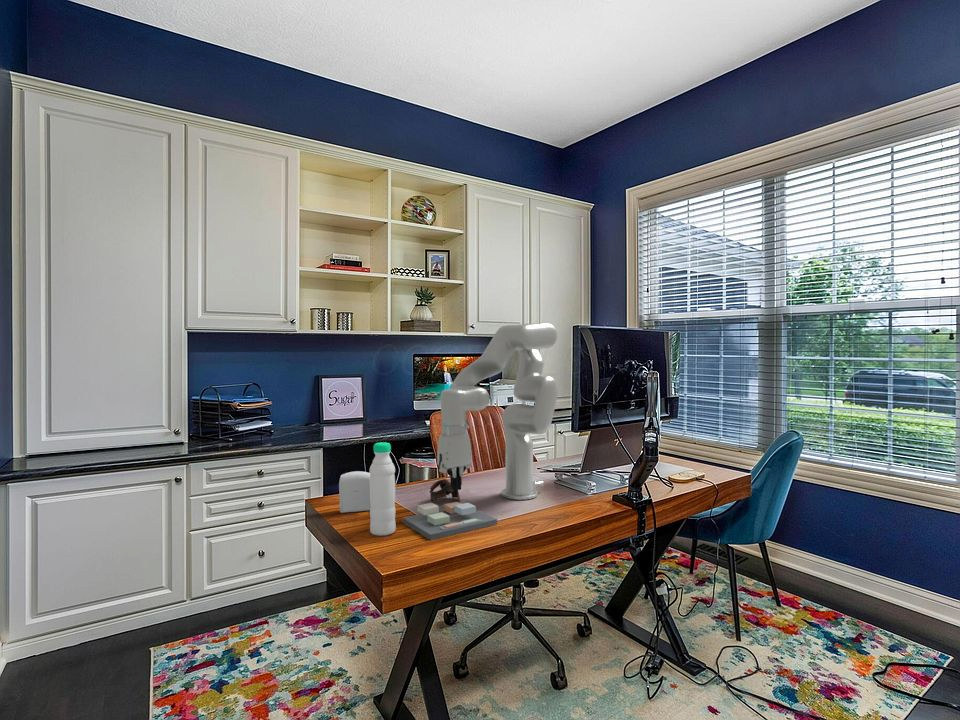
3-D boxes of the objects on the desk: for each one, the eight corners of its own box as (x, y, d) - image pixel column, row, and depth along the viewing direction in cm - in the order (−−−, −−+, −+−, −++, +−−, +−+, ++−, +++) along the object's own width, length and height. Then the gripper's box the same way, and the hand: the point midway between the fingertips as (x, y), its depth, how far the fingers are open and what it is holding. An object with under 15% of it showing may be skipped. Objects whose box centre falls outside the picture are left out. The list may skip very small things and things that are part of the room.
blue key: (467, 508, 160) (467, 502, 160) (475, 512, 157) (475, 506, 157) (454, 511, 158) (454, 505, 158) (462, 515, 154) (462, 509, 154)
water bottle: (365, 532, 149) (364, 443, 148) (386, 526, 154) (385, 440, 153) (379, 538, 144) (378, 446, 143) (400, 532, 149) (400, 443, 148)
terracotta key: (457, 507, 166) (457, 501, 165) (464, 511, 162) (464, 505, 162) (443, 510, 163) (443, 504, 163) (451, 514, 159) (451, 508, 159)
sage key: (441, 518, 155) (441, 512, 155) (449, 522, 152) (449, 516, 152) (427, 521, 153) (427, 515, 153) (434, 525, 149) (434, 519, 149)
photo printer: (339, 514, 165) (338, 474, 165) (339, 509, 169) (339, 471, 169) (373, 511, 168) (372, 472, 167) (372, 507, 172) (372, 469, 172)
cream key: (431, 508, 160) (431, 502, 160) (438, 512, 157) (438, 506, 157) (417, 511, 158) (417, 505, 158) (424, 515, 154) (424, 509, 154)
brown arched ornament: (463, 505, 175) (452, 486, 172) (437, 518, 175) (426, 498, 173) (460, 487, 186) (450, 468, 184) (436, 498, 187) (425, 480, 184)
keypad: (465, 509, 169) (465, 503, 169) (497, 524, 155) (497, 517, 155) (402, 522, 157) (402, 516, 157) (430, 540, 143) (430, 532, 143)
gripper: (468, 425, 169) (470, 481, 170) (426, 431, 161) (428, 491, 162) (481, 428, 163) (483, 487, 164) (439, 434, 155) (441, 497, 156)
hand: (456, 489), depth 163 cm, fingers closed
